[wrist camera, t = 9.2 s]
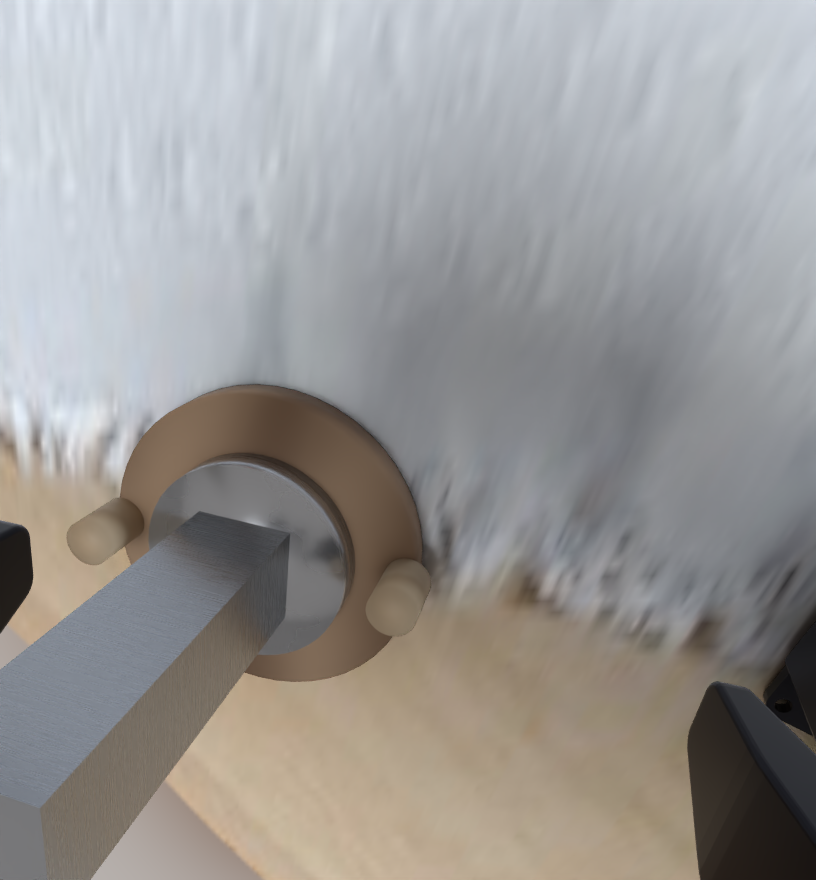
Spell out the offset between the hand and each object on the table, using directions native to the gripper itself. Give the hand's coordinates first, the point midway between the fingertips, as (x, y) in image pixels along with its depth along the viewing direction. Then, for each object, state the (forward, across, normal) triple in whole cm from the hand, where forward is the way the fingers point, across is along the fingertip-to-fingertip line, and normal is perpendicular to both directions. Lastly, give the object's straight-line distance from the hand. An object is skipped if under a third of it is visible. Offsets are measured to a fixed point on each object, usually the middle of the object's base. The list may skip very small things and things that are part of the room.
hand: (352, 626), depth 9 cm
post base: (+14, +5, +8) cm, 17 cm away
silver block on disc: (+12, +5, +8) cm, 16 cm away
